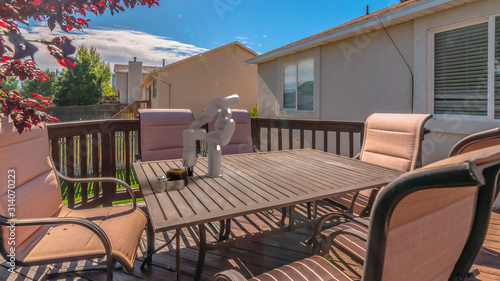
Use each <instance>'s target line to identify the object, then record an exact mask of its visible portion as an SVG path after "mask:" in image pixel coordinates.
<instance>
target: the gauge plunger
mask: <svg viewBox="0 0 500 281" xmlns="http://www.w3.org/2000/svg"><path fill="white" fill-rule="evenodd" d="M163 178H165V179H164V180H162V179H163ZM156 179H157V180H158V183H162V182H165V181H168V180H171V179H172V177H170V178H167V179H166V176H164V175H158V176H156Z"/></svg>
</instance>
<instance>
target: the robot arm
mask: <svg viewBox="0 0 500 281" xmlns="http://www.w3.org/2000/svg"><path fill="white" fill-rule="evenodd" d="M240 103H241V98H240V96H239V95H238V94H231V93H230V94H221V95H220V96H212V97H210V100H209V101H208V102H207V105H206V107H205V108H204V110H203V112H202V113H201V114H200V115H198V116H197V117H196V118H195V119H193V121H192V122H191V123H190V125H189V127H188V128H187V129H184V130H183V131H182V138H183V139H182V140H183V142H182V143H183V144H182V145H183V151H182V159H181V160H182V161H181V162H182V167H184V169H188V173H187V174H188V177H190V178H192V177H194V170H195V167H197V157H198V156H197V150H196V141H203V140H205V141H206V145H207V172H206V173H205V176H206V177H209V178H220V177H223V176H224V172H222V171H224V167H222V148H221V147H222V146H223V147H224V146H227V145H228V144H229V142H230V141H231V139H232V136H233V134H234V132H235V130H236V122H235V120H234V119H232V116H233V113H232V109H231V108H235V107H237V106H239V105H240ZM219 110H220V113H219V115H218V117H217V119H216V120H215V118H216V115H217V114H218V112H219ZM214 120H215V123H214V130H212V131H209V132H207V131H206V130H205V129H204V128H201V127H202V126H204V125H206V124H208V123H210V122H213V121H214Z"/></svg>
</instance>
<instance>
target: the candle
mask: <svg viewBox="0 0 500 281" xmlns="http://www.w3.org/2000/svg"><path fill="white" fill-rule="evenodd" d="M165 173H166V174H165V175H166V176H165V179H167V178H170V177H172V179H171V180H168V181H181V180H184V188H185V187H187V186H188V184H189V178H188V169H185V168H171V169H169V170H166V171H165ZM166 182H167V181H166Z"/></svg>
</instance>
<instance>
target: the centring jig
mask: <svg viewBox="0 0 500 281" xmlns="http://www.w3.org/2000/svg"><path fill="white" fill-rule="evenodd" d="M164 179H166V177H165V178H163V179H161V180H164ZM178 190H179V191H180V190H185V187H184V180H181V181H167V182H166V181H165V182H162V183H159V182H158V183H157V184H156V192H157V193H160V194H162V193H165V192H166V191H178Z"/></svg>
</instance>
